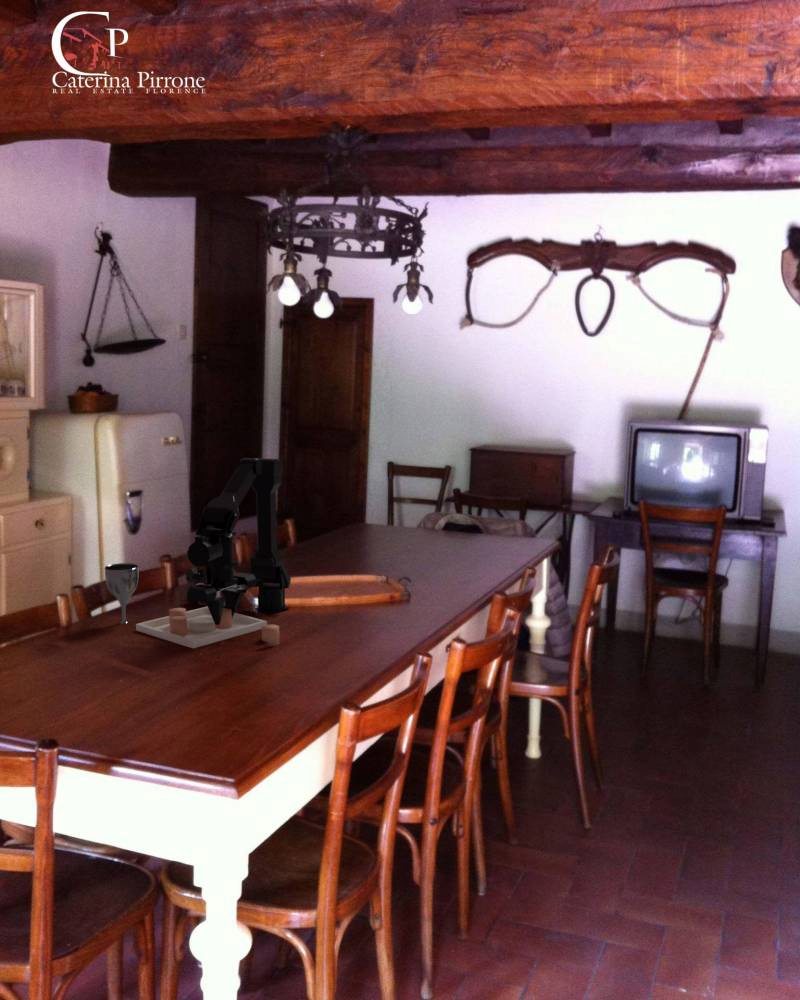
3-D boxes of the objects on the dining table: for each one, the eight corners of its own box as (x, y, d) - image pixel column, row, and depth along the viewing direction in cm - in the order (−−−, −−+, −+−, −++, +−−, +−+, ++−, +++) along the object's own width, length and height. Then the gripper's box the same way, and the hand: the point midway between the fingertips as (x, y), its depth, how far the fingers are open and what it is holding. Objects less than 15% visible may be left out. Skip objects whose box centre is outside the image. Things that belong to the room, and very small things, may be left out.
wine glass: (107, 632, 242) (104, 571, 240) (107, 623, 249) (104, 564, 247) (141, 629, 244) (138, 569, 242) (140, 620, 252) (138, 562, 249)
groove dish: (209, 615, 256) (209, 603, 256) (267, 631, 242) (267, 619, 242) (136, 634, 240) (135, 622, 240) (193, 652, 226) (192, 639, 225)
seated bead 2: (180, 631, 239) (180, 615, 238) (191, 634, 236) (190, 618, 235) (166, 635, 236) (166, 618, 235) (177, 638, 233) (176, 621, 232)
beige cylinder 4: (179, 622, 246) (179, 606, 245) (189, 625, 243) (189, 609, 243) (166, 626, 243) (165, 610, 242) (176, 629, 240) (175, 613, 240)
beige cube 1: (235, 625, 238) (234, 609, 237) (224, 630, 235) (223, 613, 234) (222, 623, 240) (222, 607, 239) (211, 627, 237) (210, 611, 236)
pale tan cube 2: (271, 640, 235) (271, 623, 235) (283, 643, 233) (282, 626, 232) (258, 643, 232) (258, 627, 232) (270, 647, 230) (269, 630, 229)
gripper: (221, 547, 247) (223, 608, 249) (167, 561, 231) (170, 627, 233) (257, 552, 241) (258, 615, 243) (204, 566, 225) (206, 634, 228)
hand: (223, 622), depth 237 cm, fingers closed on beige cube 1, 4 cm apart
